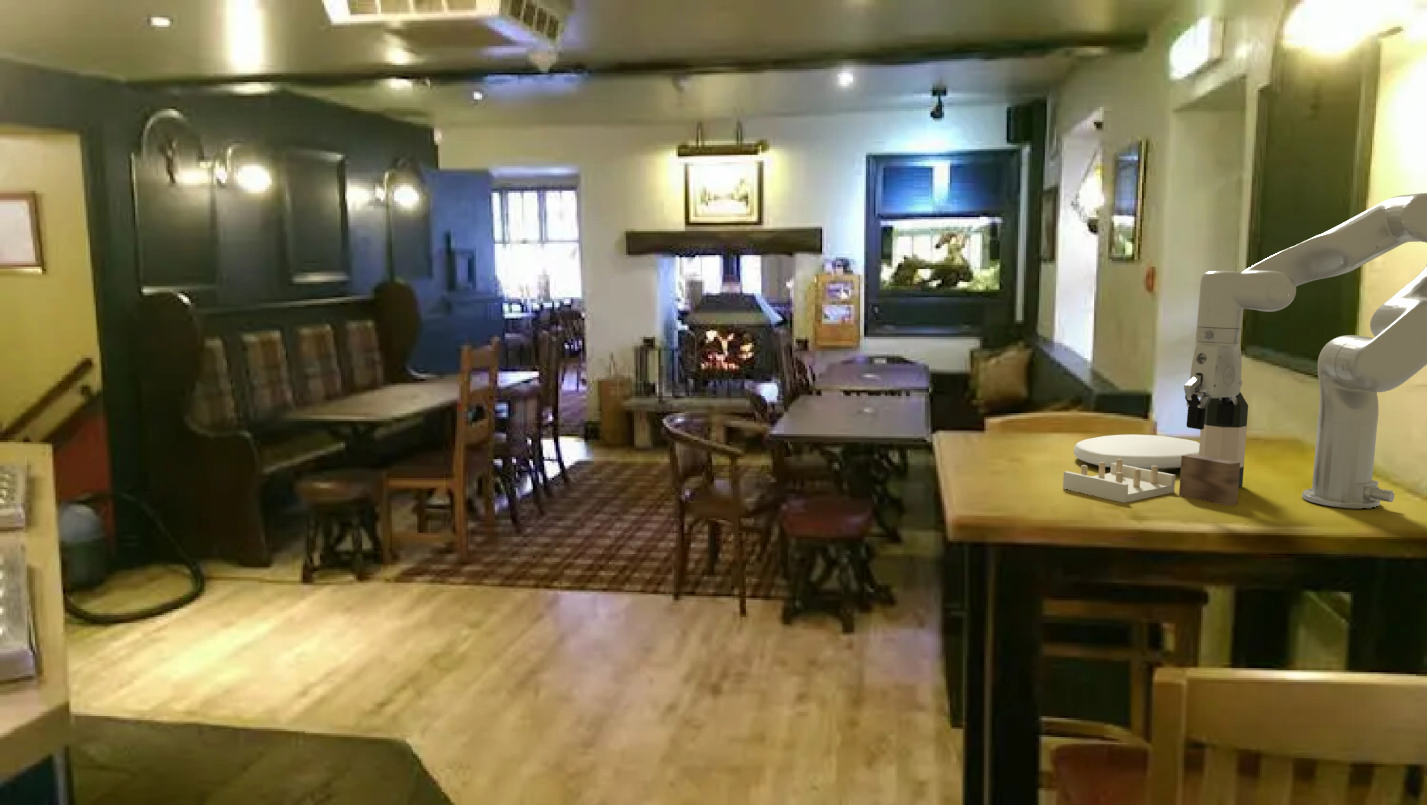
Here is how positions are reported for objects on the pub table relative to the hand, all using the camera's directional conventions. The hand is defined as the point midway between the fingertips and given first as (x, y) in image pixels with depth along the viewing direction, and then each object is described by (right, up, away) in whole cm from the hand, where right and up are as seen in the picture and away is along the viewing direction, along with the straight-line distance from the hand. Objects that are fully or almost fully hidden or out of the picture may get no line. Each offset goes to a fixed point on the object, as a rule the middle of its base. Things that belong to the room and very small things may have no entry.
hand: (1210, 426), depth 192 cm
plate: (+1, -10, +36) cm, 37 cm away
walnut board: (+1, -14, +2) cm, 14 cm away
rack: (-14, -13, +9) cm, 21 cm away
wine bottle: (+9, -12, +14) cm, 21 cm away
